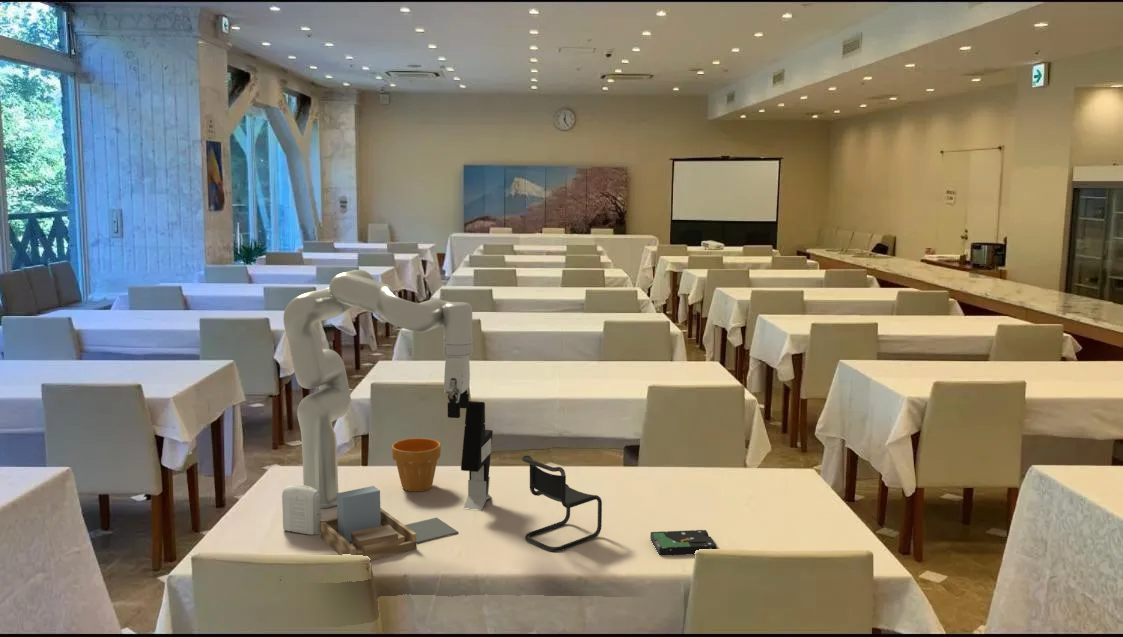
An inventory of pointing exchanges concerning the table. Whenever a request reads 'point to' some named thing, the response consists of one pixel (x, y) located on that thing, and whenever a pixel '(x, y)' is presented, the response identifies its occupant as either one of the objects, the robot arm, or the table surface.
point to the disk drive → (681, 542)
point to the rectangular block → (358, 510)
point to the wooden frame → (344, 547)
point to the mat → (430, 529)
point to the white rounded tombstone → (301, 509)
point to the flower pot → (416, 462)
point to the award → (476, 455)
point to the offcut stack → (375, 538)
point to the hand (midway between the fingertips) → (458, 412)
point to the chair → (558, 499)
